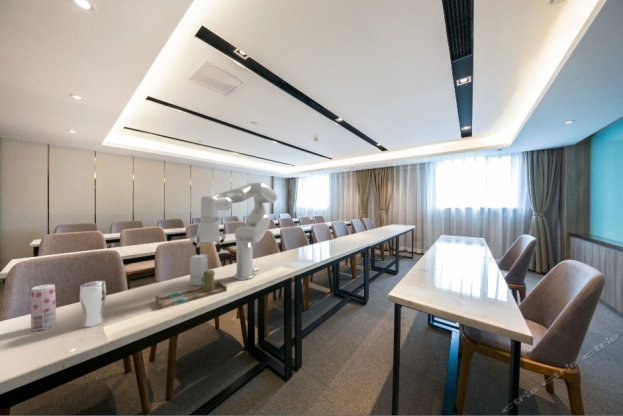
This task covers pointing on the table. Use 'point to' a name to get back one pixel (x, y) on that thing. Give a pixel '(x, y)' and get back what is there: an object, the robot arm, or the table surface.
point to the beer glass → (92, 302)
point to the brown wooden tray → (183, 300)
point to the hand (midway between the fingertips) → (208, 253)
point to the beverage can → (43, 307)
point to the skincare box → (198, 269)
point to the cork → (208, 281)
